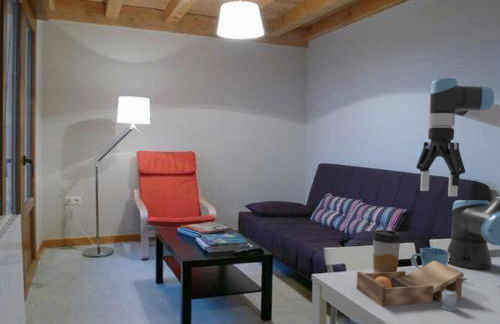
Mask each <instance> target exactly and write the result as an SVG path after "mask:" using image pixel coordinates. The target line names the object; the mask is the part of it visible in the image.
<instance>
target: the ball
mask: <svg viewBox="0 0 500 324" xmlns="http://www.w3.org/2000/svg"><path fill="white" fill-rule="evenodd" d="M375 280H376V281H377V282H379V283H381V284H382V285H384V286H385V287H386V288H392V284H391V282H390V280H389V279H388V278H386V277H378V278H376V279H375Z"/></svg>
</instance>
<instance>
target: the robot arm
mask: <svg viewBox="0 0 500 324" xmlns="http://www.w3.org/2000/svg"><path fill="white" fill-rule="evenodd" d="M429 94H430V99H429V100H430V101H429V116H428V118H429V119H428V126H429V128H428V134H427V135H428V136H427V137H428V139H429V140H430V141H425V142H423V146H422V151H421V154H420V155H419V158H418V161H417V164H416V166H415V167H416V169H417V170H419V171H420V175H419V176H420V189H419V190H420V191H421V192H429V191H430V190H429V189H430V174H431V173H430V167H431V166H432V164H433V163H434V161H435V160H436V158H438V157H441V158H442V159H443V160H444V162H445V163H446V166H447V168H448V170H449V171H450V173H449V174H448V175H449V176H448V191H447V194H448V197H458V189H459V187H458V186H459V185H460V176H461V175H462V174H465V173H466V169H465V166H464V162H463V160H462V159H463V158H462V155H461V152H460V144H459V142H452V141H453V140H454V139H455V128H453V127H454V126H455V122H456V121H455V117H456V116H460V117H463V118H466V119H470V120H473V121H477V122H479V123H483V124H486V125H490V126H493V127H496V128H499V129H500V104H498V103H494V102H495V93H494V91H493V89H492V88H491V87H486V86H470V85H469V86H467V85H466V86H464V85H459V84H458V81H457V79H456V78H454V77H440V78H435V79H433V80H432V82H431V86H430V92H429ZM455 115H456V116H455ZM451 211H452V214H451V215H452V219H451V232H450V233H451V235H450V242H449V244H448V248H447V249H446V252H447V251H448V252H449V253H450V258H449V263H448V264H450V265H451V266H456V267H460V268H465V269H471V270H472V269H473V270H474V269H475V270H488V269H491V268H492V266H493V265H492V263H493V262H492V258H491V255H490V250H489V247H488V244H490V245H492V246H499V247H500V196H496V197H494V198H493V199H492V200H491V201H489V200H477V199H475V200H470V199H469V200H467V199H466V200H465V199H464V200H463V199H457V200H454V202H453V204H452V210H451Z"/></svg>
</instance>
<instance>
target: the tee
mask: <svg viewBox="0 0 500 324" xmlns="http://www.w3.org/2000/svg"><path fill="white" fill-rule="evenodd" d="M457 301H458V300H457V293H456V292H455V291H453V292H452V291H447V290H445V291H443V292H442V301H441V304H440V308H441V309H442V310H445V311H449V312H456V311H458V306H457Z"/></svg>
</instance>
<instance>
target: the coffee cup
mask: <svg viewBox="0 0 500 324" xmlns="http://www.w3.org/2000/svg"><path fill="white" fill-rule="evenodd" d="M401 239H402V237H401V236H400V233H399V232H398V231H394V230H386V229H378V230H374V234H373V235H372V243H373V244H372V247H373V249H372V250H373V251H372V259H373V260H372V263H373V264H372V265H373V266H372V268H373V273H378V272H398V266H399V257H400V256H399V255H400V246H401V242H402V240H401Z"/></svg>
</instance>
